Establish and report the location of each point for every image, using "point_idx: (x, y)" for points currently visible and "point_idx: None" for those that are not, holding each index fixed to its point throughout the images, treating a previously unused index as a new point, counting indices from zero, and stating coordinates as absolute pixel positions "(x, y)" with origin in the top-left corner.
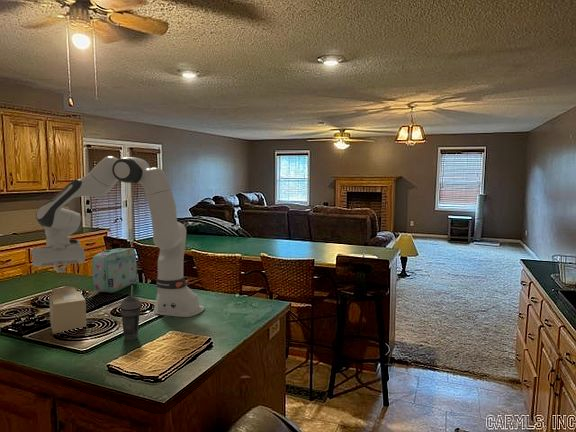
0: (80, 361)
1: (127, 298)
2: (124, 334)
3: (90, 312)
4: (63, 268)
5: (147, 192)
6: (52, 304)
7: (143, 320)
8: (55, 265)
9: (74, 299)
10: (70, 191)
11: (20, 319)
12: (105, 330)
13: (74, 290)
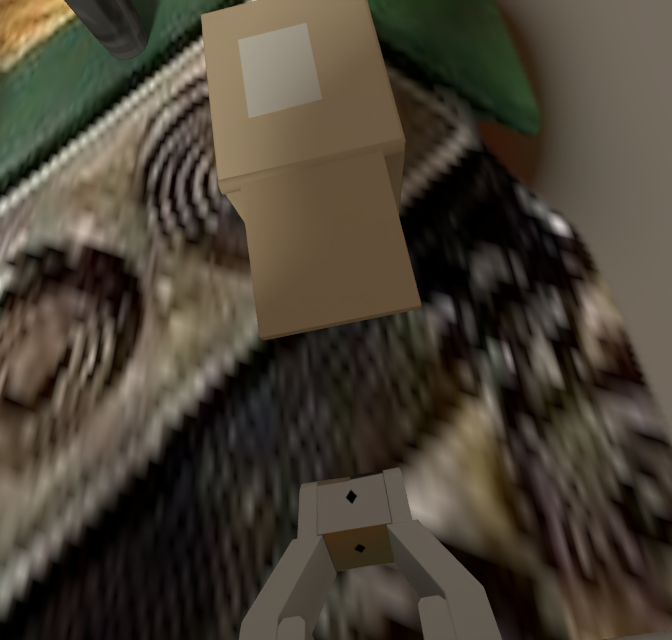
0: None
1: None
2: (137, 14)
3: (228, 355)
4: (315, 503)
5: None
6: (367, 10)
7: (48, 181)
8: (443, 560)
9: (254, 30)
10: None
11: (558, 353)
12: (191, 118)
13: (252, 216)
